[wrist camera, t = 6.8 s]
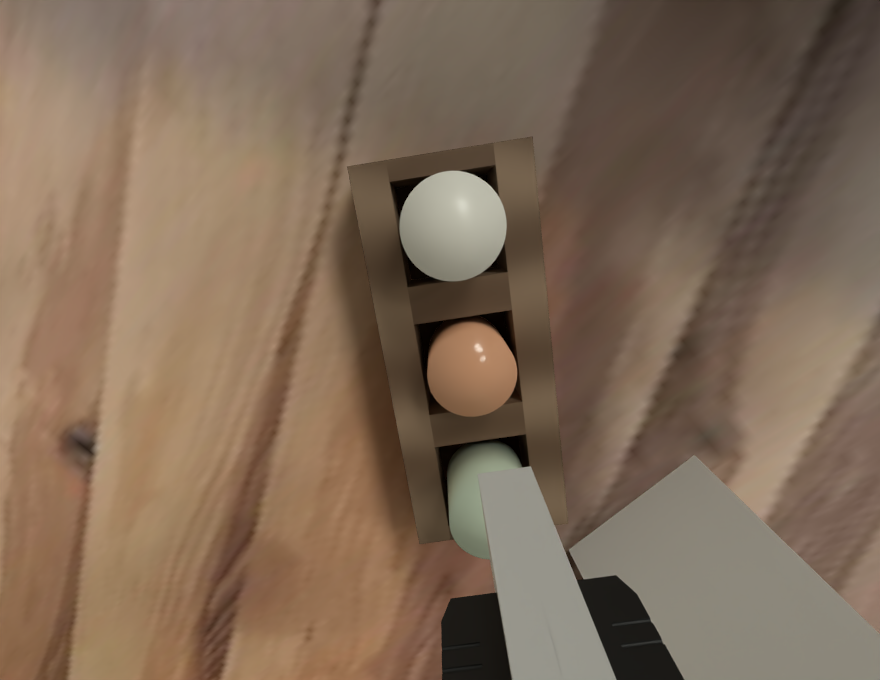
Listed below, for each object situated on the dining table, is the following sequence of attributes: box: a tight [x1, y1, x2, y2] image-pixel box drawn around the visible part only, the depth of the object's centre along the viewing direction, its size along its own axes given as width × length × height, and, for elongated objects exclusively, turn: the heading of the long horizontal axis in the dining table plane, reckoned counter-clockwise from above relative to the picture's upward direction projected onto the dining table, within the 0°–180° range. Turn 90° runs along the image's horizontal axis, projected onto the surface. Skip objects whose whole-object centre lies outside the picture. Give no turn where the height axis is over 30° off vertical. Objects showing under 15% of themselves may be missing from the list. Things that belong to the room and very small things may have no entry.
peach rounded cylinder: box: [427, 315, 517, 417], centre depth 27 cm, size 5×5×5 cm
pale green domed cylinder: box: [447, 439, 522, 559], centre depth 27 cm, size 5×5×5 cm
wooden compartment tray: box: [347, 137, 568, 544], centre depth 28 cm, size 24×10×4 cm, turn 9°
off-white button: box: [400, 171, 507, 281], centre depth 23 cm, size 5×5×5 cm
